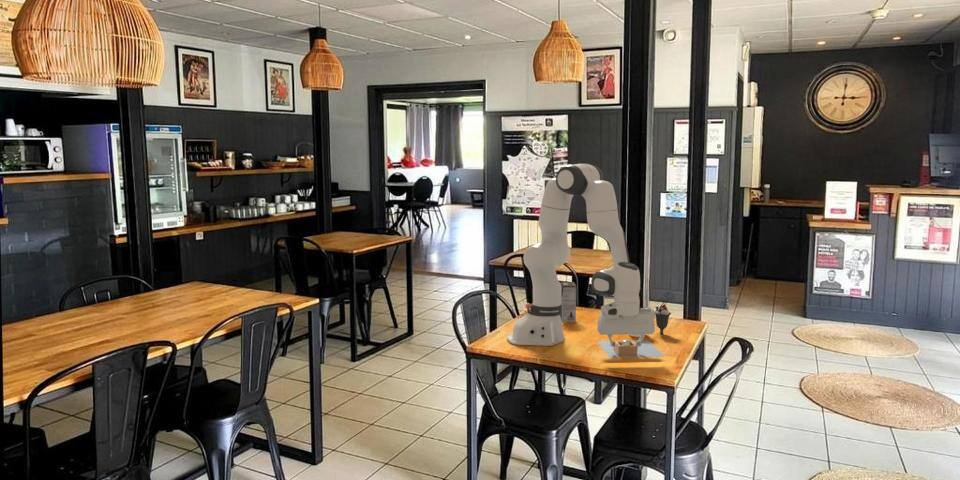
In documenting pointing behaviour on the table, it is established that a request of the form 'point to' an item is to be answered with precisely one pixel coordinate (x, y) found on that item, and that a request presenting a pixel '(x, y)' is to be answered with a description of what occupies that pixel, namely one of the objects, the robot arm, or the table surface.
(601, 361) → the table surface
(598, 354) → the table surface
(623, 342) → the piston
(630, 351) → the collar
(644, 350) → the plate
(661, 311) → the sundae
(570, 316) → the coffee box
